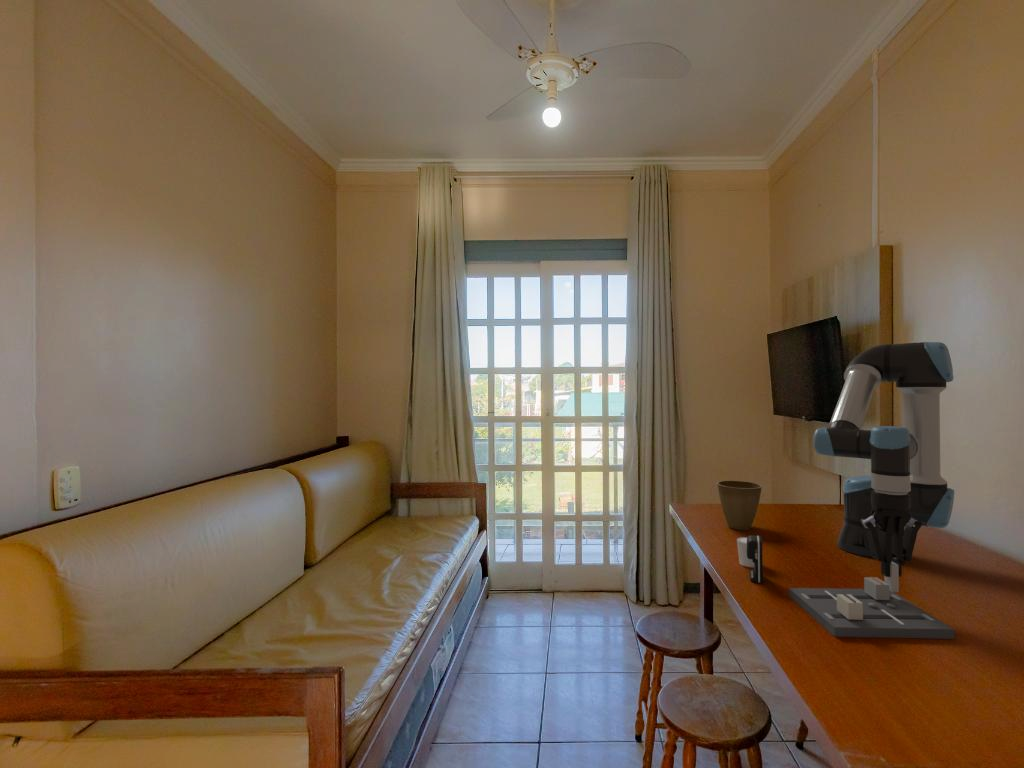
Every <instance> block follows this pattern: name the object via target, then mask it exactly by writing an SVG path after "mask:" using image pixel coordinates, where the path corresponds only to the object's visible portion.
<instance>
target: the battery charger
mask: <svg viewBox="0 0 1024 768" xmlns="http://www.w3.org/2000/svg"><path fill="white" fill-rule="evenodd" d="M746 537H747V547H746V552H747V558H748V559H752V562H754V564H755V565H754V567H752V570H751V571H749V580H750V581H751V582H754V583H759V584H763V582H764V573H763V570H764V569H763V567H764V566H763V565H764V564H763V563H764V562H763V561H764V559H763V540H762V536H761V535H753V534H751V535H750V534H749V535H748V536H746Z"/></svg>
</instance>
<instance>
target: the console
mask: <svg viewBox="0 0 1024 768" xmlns="http://www.w3.org/2000/svg"><path fill="white" fill-rule="evenodd" d="M843 593H845V594H851V595H852V596H853V597H855V598H856V599H858V600H859V601H860V602H862V603H863V620H853V619H847V618H846V617H845V616H844V615H842V614H841V613H840V612H839V611H837V594H843ZM788 596H789V598H791V599H792V600H793V601H794V602H795V603H796V604H798V606H800V607H801V608H802V609H803V610H804V611H805V612H806V613H808V614H809V616H811V617H812V618H813V619H814V620H816V622H818V624H819V625H821V626H822V627H823V628H824V629H825V630H827V632H829V633H830V635H832V636H833V637H835V638H837V637H839V638H882V639H884V638H889V639H891V638H892V639H894V638H895V639H899V638H900V639H941V640H942V639H947V640H949V639H951V640H954V639H955V629H954V628H953V627H952V626H949V625H948V624H946V623H944V622H943V621H942V620H940V619H938V618H937V617H935V616H933V615H932V614H930V613H928V612H926V611H925V610H924V609H921V608H920V607H919V606H917V605H916V604H914V603H912V602H911V601H909V600H907V599H905V598H904V597H903V596H901V595H899V594H897V592H891V591H890V590H889V599H890V600H876V599H874V598H873V597H871V596H870V595H868V594H867V593H865V592H864V588H822V587H821V588H820V587H819V588H818V587H817V588H816V587H812V588H811V587H802V588H801V587H788Z"/></svg>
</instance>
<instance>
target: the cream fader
mask: <svg viewBox="0 0 1024 768" xmlns="http://www.w3.org/2000/svg"><path fill="white" fill-rule="evenodd" d="M837 611H839V612H840V613H841V614H842V615H844V616H845V617H846V618H847V619H853V620H863V603H862V602H860V601H859V600H858V599H856V598H855V597H853V596H852V595H851V594H845V593H843V594H837Z"/></svg>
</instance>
